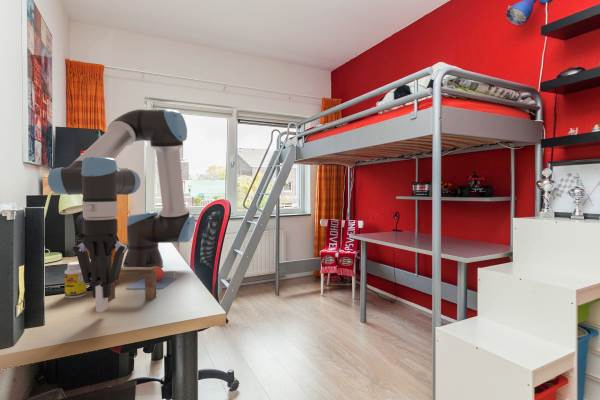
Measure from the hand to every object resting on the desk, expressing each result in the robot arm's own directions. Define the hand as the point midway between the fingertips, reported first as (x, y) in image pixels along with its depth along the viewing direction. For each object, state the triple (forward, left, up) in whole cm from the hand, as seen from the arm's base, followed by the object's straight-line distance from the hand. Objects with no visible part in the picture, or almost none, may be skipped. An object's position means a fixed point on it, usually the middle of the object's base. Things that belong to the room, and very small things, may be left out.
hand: (102, 309), depth 82 cm
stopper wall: (-36, 0, -2) cm, 37 cm away
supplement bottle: (-17, -18, -2) cm, 25 cm away
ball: (-32, 0, +1) cm, 32 cm away
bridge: (-14, 0, -2) cm, 14 cm away
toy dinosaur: (-29, -16, -2) cm, 33 cm away
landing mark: (-29, 0, -2) cm, 30 cm away
